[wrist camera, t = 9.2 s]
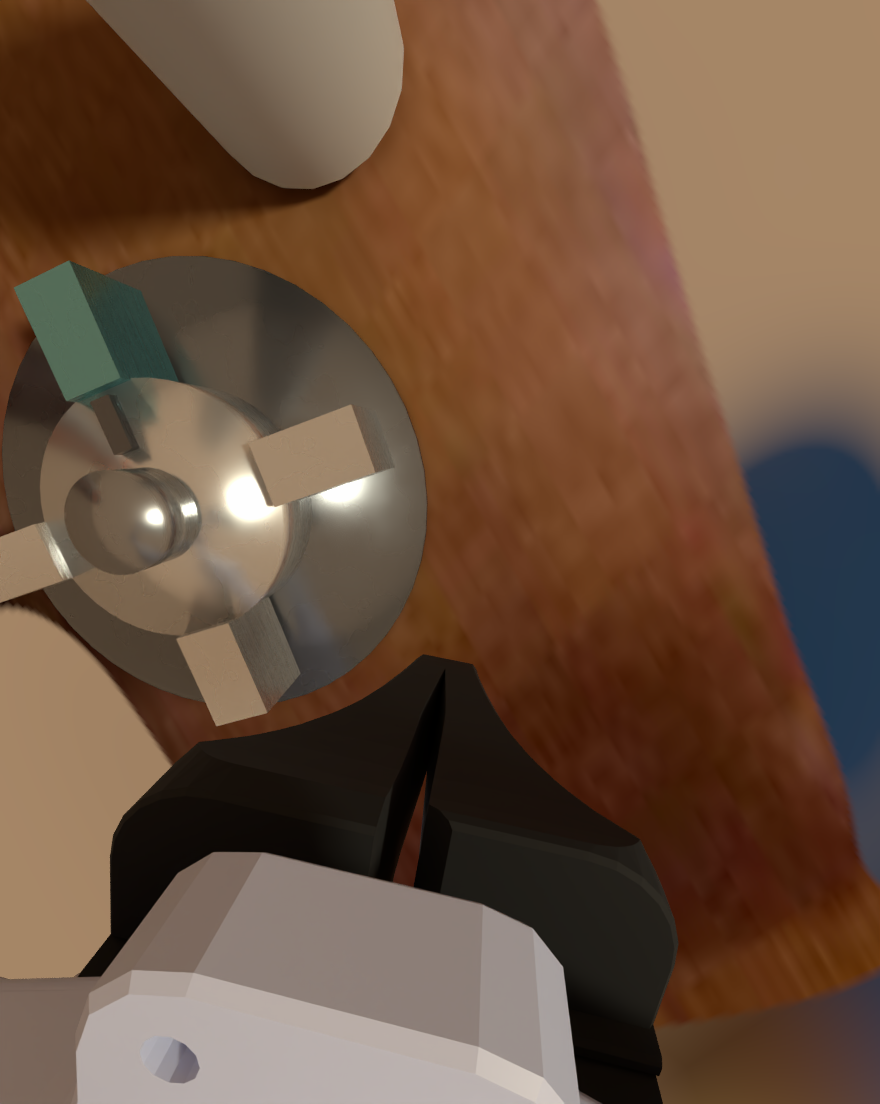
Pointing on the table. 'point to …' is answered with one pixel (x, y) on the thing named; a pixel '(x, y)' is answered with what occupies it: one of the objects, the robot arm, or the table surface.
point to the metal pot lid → (202, 467)
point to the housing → (167, 506)
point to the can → (275, 76)
